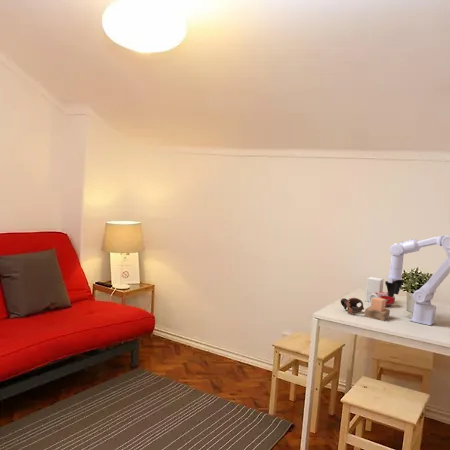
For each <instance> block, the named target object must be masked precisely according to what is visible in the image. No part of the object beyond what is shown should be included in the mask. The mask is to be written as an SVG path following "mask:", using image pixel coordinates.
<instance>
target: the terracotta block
mask: <svg viewBox="0 0 450 450" xmlns="http://www.w3.org/2000/svg"><path fill="white" fill-rule="evenodd" d="M385 305H386V299H382V298H377V297H375V298H373V299H372V302H370V306H371V309H373V310H377V311H383V310H385V309H386V306H385Z"/></svg>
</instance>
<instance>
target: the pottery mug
mask: <svg viewBox="0 0 450 450" xmlns="http://www.w3.org/2000/svg"><path fill="white" fill-rule="evenodd" d="M340 304H341V305H342V307H343V310H346V309H347V314H349V315H351V314H356V313H357V314H358V313H360V312H362V311H363V310H364V311H365V308H364V302H363V301H362V300H361V299H359V298H356V297H351V298H349V299H347V298H341V299H340ZM358 304H361V305H360V306H358Z"/></svg>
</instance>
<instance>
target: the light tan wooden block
mask: <svg viewBox="0 0 450 450" xmlns="http://www.w3.org/2000/svg"><path fill="white" fill-rule="evenodd" d="M390 312H391V310H390V309H388V308H385V310H383V311H377V310H373V309H371V305H370V306H369V307H366V308H364V318H368V319H372V320H373V319H374V320H376V321H382V322H385V321H386V320H387V319H389V318H388V317H390V314H391V313H390Z"/></svg>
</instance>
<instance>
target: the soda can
mask: <svg viewBox="0 0 450 450" xmlns="http://www.w3.org/2000/svg"><path fill="white" fill-rule="evenodd" d="M375 297H377V298H382V299H386V305H385V307H386V306H387V307H388V306H391V305H394V304H395V302H396V297H395V295H394V296H393V297H390V296H388V291H385V292H384V291H383V292H378V293H372V294H371V296H370V302H369V303H371V302H372V299H373V298H375Z"/></svg>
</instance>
